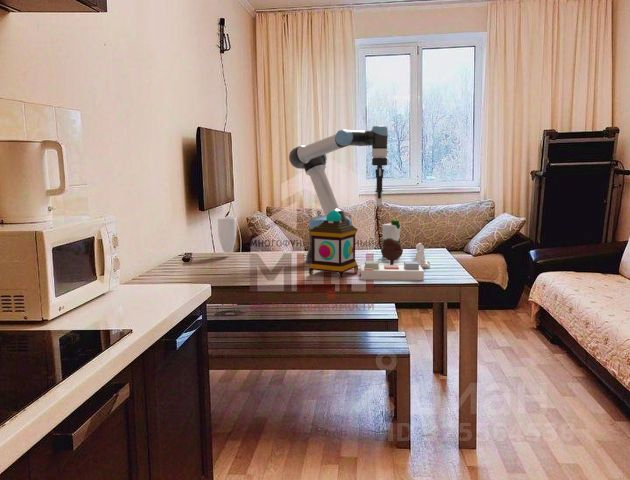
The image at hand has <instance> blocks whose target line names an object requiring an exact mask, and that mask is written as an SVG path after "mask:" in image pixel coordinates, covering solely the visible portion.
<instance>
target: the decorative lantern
mask: <svg viewBox="0 0 630 480" xmlns="http://www.w3.org/2000/svg"><path fill="white" fill-rule="evenodd" d="M357 232H358V228H356V227H355V226H354V225H353V224H352V225H348V224H347V223H346V222H344V220H341V215H340V214H339V213H338V212H337V211H335V210H332V211H330V212H329V213H328V214H327V217H326V220H325V221H324V222H323V223H321V225H319V226H316V227H314V228H313V229H311V231H310V234H311V236H312V263H310V265H309V268H308V274H309V275H310V276H313V272H314V271H321V272H329V273H338V275H339V279H341V278H342V279H343V277H344V273H345V272H347V271H350V270H354V271H353V272H355V273H358V272H359V265H358V262H357V261H356V234H357Z"/></svg>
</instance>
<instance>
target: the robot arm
mask: <svg viewBox="0 0 630 480" xmlns="http://www.w3.org/2000/svg"><path fill="white" fill-rule="evenodd" d="M388 131H389V130H388V127H387V126H386V125H374V126H372V129H371V130H359V129H357V130H356V129H355V130H354V129H339V130H338V131H337V132H336V133H335V134H333V135H330V136H328V137H325V138H322V139H320V140H318V141H315V142H312V143H310V144H307V145H303V144H302V145H299V146H295V147H294V148H293V149H292V150H290V152H289V155H288V160H289V162H290V165H291V166H292V167H294V168H296V169H298V170H299V169H303V170H304V171H305V174H306V175H307V176H309V177H310V180H311V182H312V185H313V189H314V190H315V193H316V196H317V198H318V201H319V203H320V206H321V210H322V211H323V214H324V215H318V216H314V217H311V218H310V220H309V222H308V223H309V225H308V231H309V233H308V235H309V240H308V241H309V243H308V244H309V245H308V247H309V248H308V250H307V253H306V256H305V257H306V258H305V261H306V262H307V263H310V264H311V263H312V236H311V234H310V231H311V229H313V228H314V227H316V226H319V225H321V223H323V222H324V221H325V220H326V217H327V214H328V213H329V212H330V211H332V210H335V211H337V212H338V213H339V214H340V215H341V220H344V222H346V223H347V224H348V225H352V226H353V220H352V219H351V218H350V217H348V216H346V215H345V213H344V210H342V209H340V207H339V204H338V202H337V200H336V198H335V195H334V192H333V189H332V187H331V184H330V181H329V179H328V175H327V174H326V168H327V167H326V164H327V160H328V159H327V158H328V157H327V155H326V154H330V153H332V152H335V151H338V150H340V149H342V148H343V149H344V148H345V147H350V146H354V147H355V146H356V147H369V146H371V148H372V149H371V157H372V158H371V165H372V166H374V167H375V166H376V168H375V179H376V189H375V191H374V192H375V193H376V195H375V196H376V199H375V200H376V201H375V202H376V206H382V205H383V192H384V189H383V178H384V168H383V166H388V158H387V157H388V153H389V152H390V151H389V150H388V137H389V135H388Z"/></svg>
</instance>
